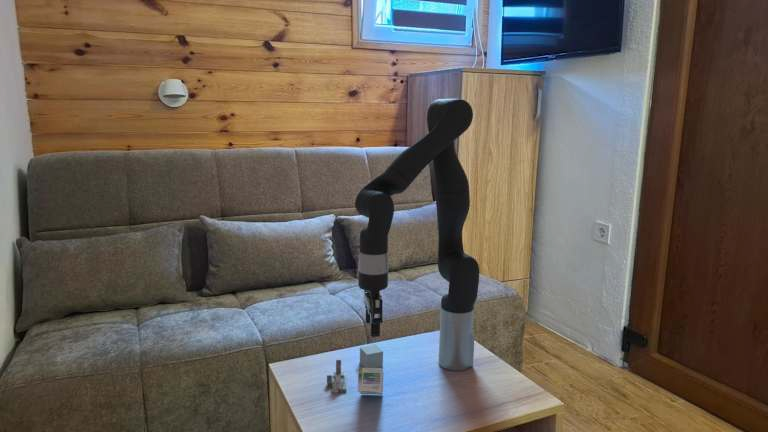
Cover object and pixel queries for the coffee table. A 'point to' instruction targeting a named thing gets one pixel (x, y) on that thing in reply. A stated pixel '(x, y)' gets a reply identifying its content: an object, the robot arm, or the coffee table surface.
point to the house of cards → (337, 379)
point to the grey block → (371, 356)
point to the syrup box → (370, 381)
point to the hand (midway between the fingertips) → (372, 329)
